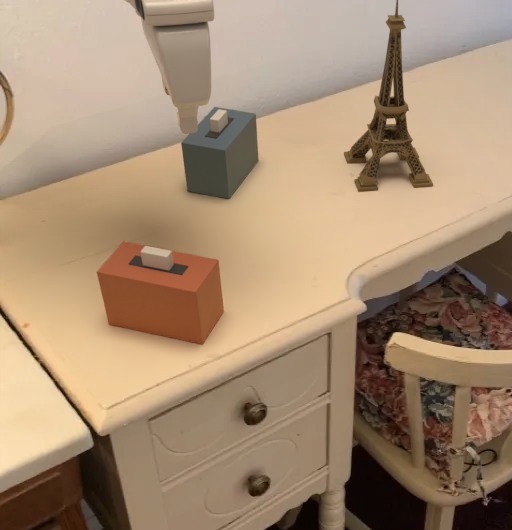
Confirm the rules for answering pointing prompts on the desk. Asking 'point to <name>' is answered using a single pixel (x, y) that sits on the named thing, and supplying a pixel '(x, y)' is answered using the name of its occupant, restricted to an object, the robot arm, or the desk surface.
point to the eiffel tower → (386, 108)
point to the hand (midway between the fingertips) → (180, 110)
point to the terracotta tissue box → (161, 291)
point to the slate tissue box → (220, 152)
